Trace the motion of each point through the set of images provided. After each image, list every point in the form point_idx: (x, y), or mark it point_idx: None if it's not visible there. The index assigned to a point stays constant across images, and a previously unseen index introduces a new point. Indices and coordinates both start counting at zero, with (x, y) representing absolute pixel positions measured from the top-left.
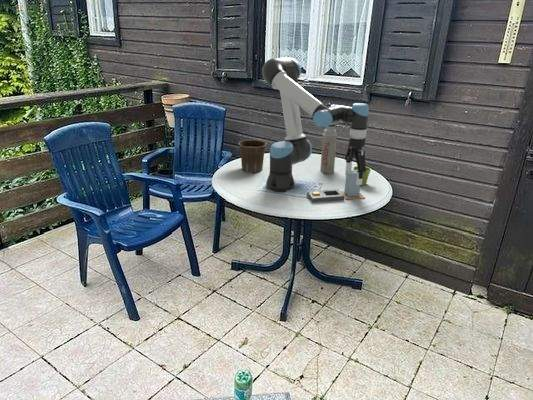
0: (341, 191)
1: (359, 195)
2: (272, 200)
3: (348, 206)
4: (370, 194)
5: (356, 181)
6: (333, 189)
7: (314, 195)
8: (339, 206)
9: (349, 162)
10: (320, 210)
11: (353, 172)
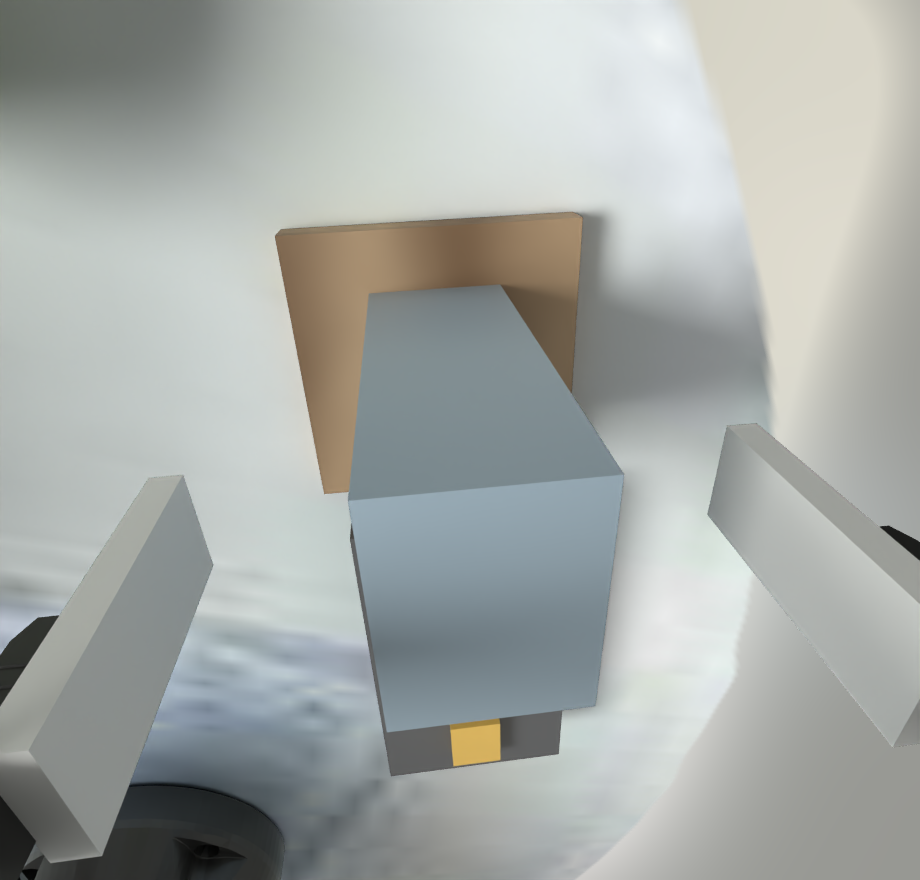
0: (321, 462)
1: (485, 272)
2: (436, 872)
3: (682, 461)
4: (368, 8)
5: (751, 552)
6: (360, 583)
7: (502, 740)
8: (654, 536)
9: (8, 803)
10: (677, 670)
11: (525, 634)
